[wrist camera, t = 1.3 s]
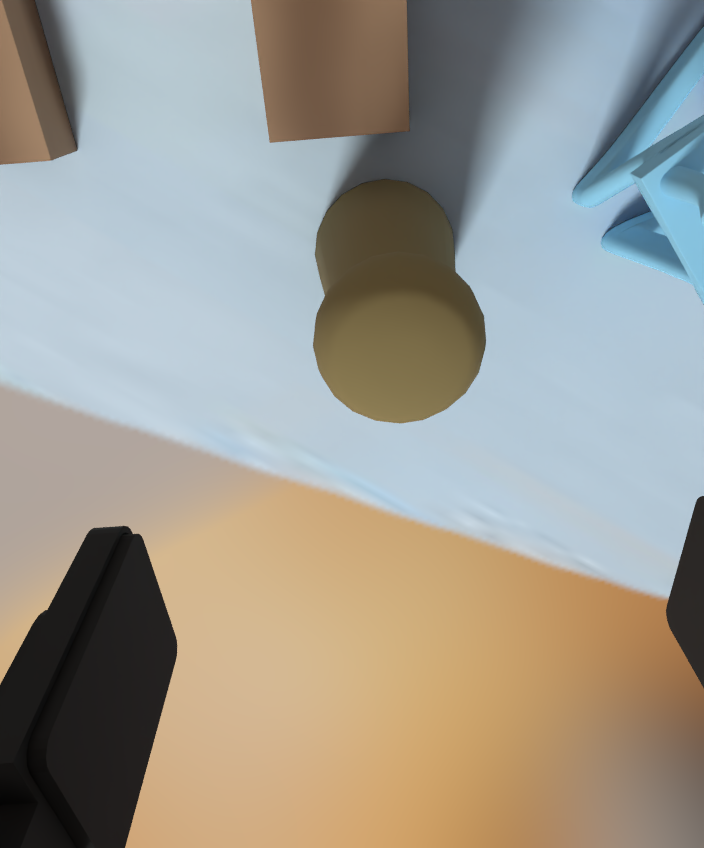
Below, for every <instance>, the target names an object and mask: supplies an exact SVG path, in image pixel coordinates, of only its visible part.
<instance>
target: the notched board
mask: <svg viewBox="0 0 704 848" xmlns="http://www.w3.org/2000/svg"><path fill="white" fill-rule="evenodd" d="M251 4H252V12H253V19H254V27H255V35H256V42H257V50H258V57H259V65H260V72H261V80H262V87H263V95H264V102H265V110H266V118H267V125H268V133H269V140H270V143H271V142H283V141H295V140H307V139H320V138H332V137H344V136H356V135H369V134H381V133H393V132H405V131H410V128H409V84H408V40H407V0H251ZM75 151H77V147H76V144H75V140H74V137H73V133H72V130H71V126H70V123H69V119H68V116H67V112H66V109H65V105H64V102H63V98H62V95H61V91H60V88H59V84H58V81H57V77H56V74H55V70H54V67H53V63H52V60H51V56H50V53H49V49H48V46H47V42H46V39H45V35H44V32H43V28H42V25H41V21H40V18H39V14H38V11H37V7H36V4H35V0H0V165H2V164H14V163H26V162H38V161H50V160H54V159H56V158H59V157H62V156H64V155H67V154H69V153H72V152H75Z"/></svg>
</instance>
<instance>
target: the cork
mask: <svg viewBox="0 0 704 848" xmlns="http://www.w3.org/2000/svg"><path fill="white" fill-rule="evenodd" d="M315 257H316V262H317V266H318V271H319V275H320V279H321V283H322V286H323V290H324V294H325V297H324V300H323V302H322V304H321V306H320V308H319V310H318V312H317V316H316V323H315V332H314V342H313V348H314V352H315V356H316V360H317V365H318V369H319V371H320V373H321V376H322V377H323V379H324V381H325V382H326V384H327V385H328V387H329V388H330V390H331V391H332V393H333V395H334V396H335V397H336V398H337V399H338V400H340V401H341V402H342V403H343V404H345V405H346V406H347V407H348V408H350V409H351V410H352V411H353V412H356V413H358V414H361V415H363V416H366V417H368V418H371V419H373V420H376V421H384V422H393V423H406V422H412V421H419V420H424V419H426V418H428V417H430V416H432V415H435V414H437V413H439V412H441V411H444V410H445V409H447V408H448V407H449V406H451V405H452V404H453V403H454V402H455V401H457V400H458V399H459V398H460V397H461V396H462V395H464V394H465V393H466V391H467V390H468V388H469V387H470V385H471V384H472V382H473V381H474V379H475V378H476V376H477V374H478V373H479V370H480V366H481V362H482V358H483V355H484V351H485V345H486V336H485V323H484V315H483V313H482V311H481V309H480V307H479V304H478V302H477V300H476V298H475V296H474V294H473V292H472V290H471V288H470V286H469V285H468V284H467V283H466V282H465V281H464V280H463V279H462V278H461V277H460V276H459V275H458V274H457V273H456V272H455V252H454V242H453V231H452V227H451V225H450V223H449V221H448V219H447V216H446V214H445V212H444V210H443V208H442V207H441V206H440V205H439V204H438V203H437V202H436V201H435V200H434V199H433V198H432V197H431V196H430V194H429V193H428V192H426V191H424V190H422V189H420V188H418V187H416V186H414V185H412V184H410V183H408V182H403V181H395V180H388V179H382V180H377V181H372V182H367V183H362V184H360V185H358V186H357V187H355V188H353V189H351V190H350V191H348V192H346V193H344V194H343V195H341V196H340V197H339V199H338V200H337V201H336V202H335V203H334V204H333V205H332V206H331V208H330V209H329V210H328V211H327V212H326V214H325V216H324V219H323V221H322V223H321V225H320V228H319V230H318V232H317V240H316V250H315Z"/></svg>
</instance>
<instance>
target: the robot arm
mask: <svg viewBox="0 0 704 848" xmlns="http://www.w3.org/2000/svg"><path fill="white" fill-rule="evenodd" d="M666 615H667V621H668V624H669V627H670V629H671V631H672V633H673V634H674V636H675V638H676V640H677V642H678V643H679V645H680V647H681V649H682V650H683V652H684V654H685V656H686V657H687V659H688V661H689V663H690V664H691V666H692V668H693V670H694V671H695V673H696V675H697V677H698V679H699V680H700V682H701V684H702V686H703V687H704V496H701V497H699V498H698V499H697V502H696V504H695V508H694V511H693V515H692V518H691V522H690V525H689V529H688V533H687V536H686V540H685V543H684V547H683V550H682V554H681V557H680V561H679V565H678V568H677V572H676V575H675V579H674V582H673V586H672V590H671V593H670V597H669V600H668V604H667V609H666ZM176 656H177V640H176V636H175V633H174V630H173V627H172V624H171V621H170V618H169V615H168V612H167V609H166V606H165V603H164V600H163V597H162V594H161V592H160V588H159V585H158V582H157V579H156V576H155V574H154V570H153V567H152V564H151V562H150V559H149V556H148V553H147V550H146V547H145V544H144V541H143V538H142V536H141V535H140V534H132V531H131V529H130V528H129V527H127V526H119V527H103V528H93V529H91V530H90V531H89V533H88V534H87V536H86V538H85V540H84V541H83V543H82V545H81V547H80V549H79V551H78V553H77V555H76V557H75V559H74V561H73V562H72V564H71V566H70V568H69V570H68V572H67V574H66V576H65V578H64V579H63V581H62V583H61V585H60V587H59V589H58V591H57V593H56V595H55V597H54V599H53V600H52V603H51V604H50V606H49V608H48V610H45V611H44V612H43V613H41V614H40V615H39V616H38V617H37V619H36V620H35V622H34V623H33V625H32V626H31V628H30V630H29V632H28V634H27V636H26V638H25V640H24V641H23V644H22V645H21V647H20V649H19V651H18V653H17V654H16V656H15V658H14V660H13V662H12V664H11V666H10V667H9V669H8V671H7V673H6V675H5V677H4V679H3V681H2V682H1V685H0V848H125V846H126V842H127V838H128V834H129V831H130V827H131V823H132V820H133V815H134V812H135V809H136V805H137V801H138V798H139V793H140V790H141V786H142V783H143V779H144V775H145V772H146V768H147V764H148V761H149V757H150V753H151V750H152V746H153V742H154V739H155V734H156V731H157V728H158V724H159V720H160V716H161V713H162V709H163V705H164V702H165V698H166V694H167V691H168V687H169V683H170V679H171V676H172V672H173V668H174V665H175V661H176Z"/></svg>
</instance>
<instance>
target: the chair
mask: <svg viewBox="0 0 704 848" xmlns="http://www.w3.org/2000/svg"><path fill="white" fill-rule="evenodd" d="M703 74H704V26H703V28H702V29H701V30H700V31H699V33H698V34H697V35H696V37H695V38H694V39H693V40H692V42H691V43H690V44H689V45H688V47H687V48H686V49H685V51H684V52H683V53H682V54H681V56H680V57H679V58H678V60H677V61H676V62H675V64H674V65H673V66H672V68H671V69H670V70H669V72H668V73H667V74H666V76H665V77H664V78H663V80H662V81H661V82H660V83H659V85H658V86H657V87H656V89H655V90H654V91H653V93H652V94H651V95H650V97H649V98H648V99H647V101H646V102H645V103H644V105H643V106H642V107H641V109H640V110H639V111H638V113H637V114H636V115H635V116H634V118H633V119H632V120H631V122H630V123H629V124H628V126H627V127H626V128H625V129H624V131H623V132H622V133H621V135H620V136H619V137H618V138H617V140H616V141H615V142H614V144H613V145H612V146H611V147H610V149H609V150H608V151H607V152H606V153H605V154H604V156H603V157H602V158H601V159H600V160H599V161H598V163H597V164H596V165H595V166H594V167H593V168H592V169H591V170H590V172H589V173H588V174H587V175H586V176H585V177H584V178H583V179H582V180H581V181H580V183H579V184H578V185H577V186H576V187H575V189H574V190H573V194H572V198H573V201H574V202H575V203H576V204H579V205H581V206H584V207H589V208H591V207H594V206H597V205H599V204H601V203H603V202H604V201H606V200H608V199H609V198H611V197H613V196H614V195H616V194H618V193H619V192H621V191H623V190H624V189H626V188H628V187H629V186H631V185H633V184H635V183H636V185H637V187H638V188H639V190H640V192H641V194H642V196H643V197H644V199H645V201H646V203H647V205H648V206H649V208H650V210H651V211H650V212H647V213H645V214H642V215H640V216H637V217H635V218H633V219H630V220H628V221H626V222H624V223H622V224H620V225H618V226H616V227H614V228H612V229H611V230H610V231H608V232H607V233H606V234H605V235H604V237H603V238H602V242H601V245H602V248H603V249H605V250H606V251H608V252H610V253H612V254H615V255H618V256H621V257H624V258H626V259H629V260H632V261H635V262H637V263H640V264H643V265H646V266H648V267H651V268H653V269H656V270H659V271H661V272H664V273H666V274H669V275H671V276H674V277H676V278H679V279H681V280H683V281H686V282H688V283H690V284H692V285H693V286H694V288H695V290H696V292H697V294H698V295H699V297H700V299H701V301H702V303H703V304H704V115H702V116H701V117H699V118H698V119H696V120H694V121H693V122H691V123H689V124H688V125H686V126H685V127H683V128H681V129H680V130H678V131H676V132H674V133H673V134H671V135H669V136H668V137H666V138H664V139H662V140H661V141H659V142H657V143H656V144H654V145H652V146H651V147H650V145H651V144H652V143H653V141H654V140H655V139H656V137H657V136H658V135H659V133H660V132H661V131H662V129H663V128H664V127H665V125H666V124H667V123H668V121H669V120H670V119H671V117H672V116H673V115H674V113H675V112H676V111H677V109H678V108H679V107H680V105H681V104H682V102H683V101H684V100H685V98H686V97H687V96H688V94H689V93H690V92H691V90H692V89H693V88H694V86H695V85H696V83H697V82H698V81H699V79H700V78H701V77H702V75H703ZM665 235H666V236H665Z"/></svg>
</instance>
